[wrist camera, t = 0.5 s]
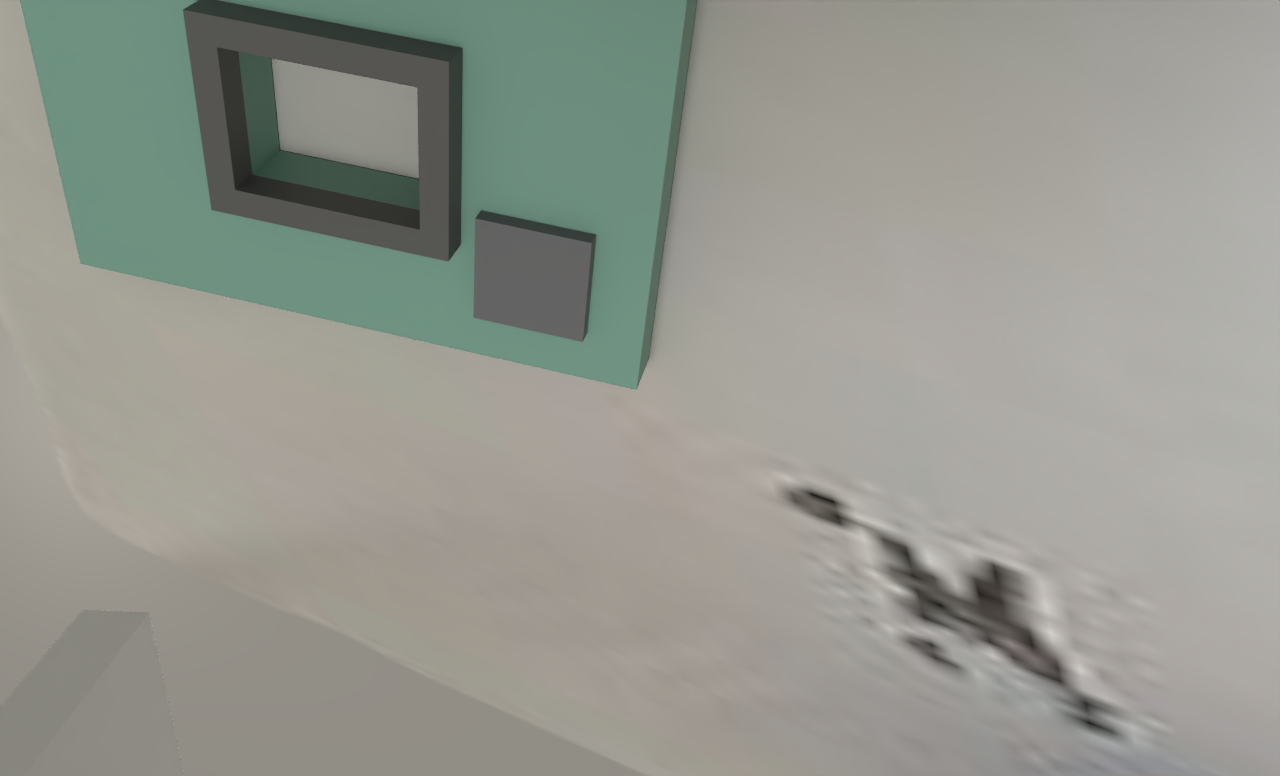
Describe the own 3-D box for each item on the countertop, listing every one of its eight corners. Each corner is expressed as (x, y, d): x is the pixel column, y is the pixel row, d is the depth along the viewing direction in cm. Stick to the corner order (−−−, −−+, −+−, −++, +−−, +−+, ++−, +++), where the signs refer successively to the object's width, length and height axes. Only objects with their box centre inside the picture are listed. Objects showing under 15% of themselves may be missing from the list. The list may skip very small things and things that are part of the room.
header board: (708, -84, 33) (687, -53, 31) (648, 358, 43) (628, 409, 40) (19, -205, 36) (-53, -186, 33) (111, 238, 46) (61, 279, 43)
